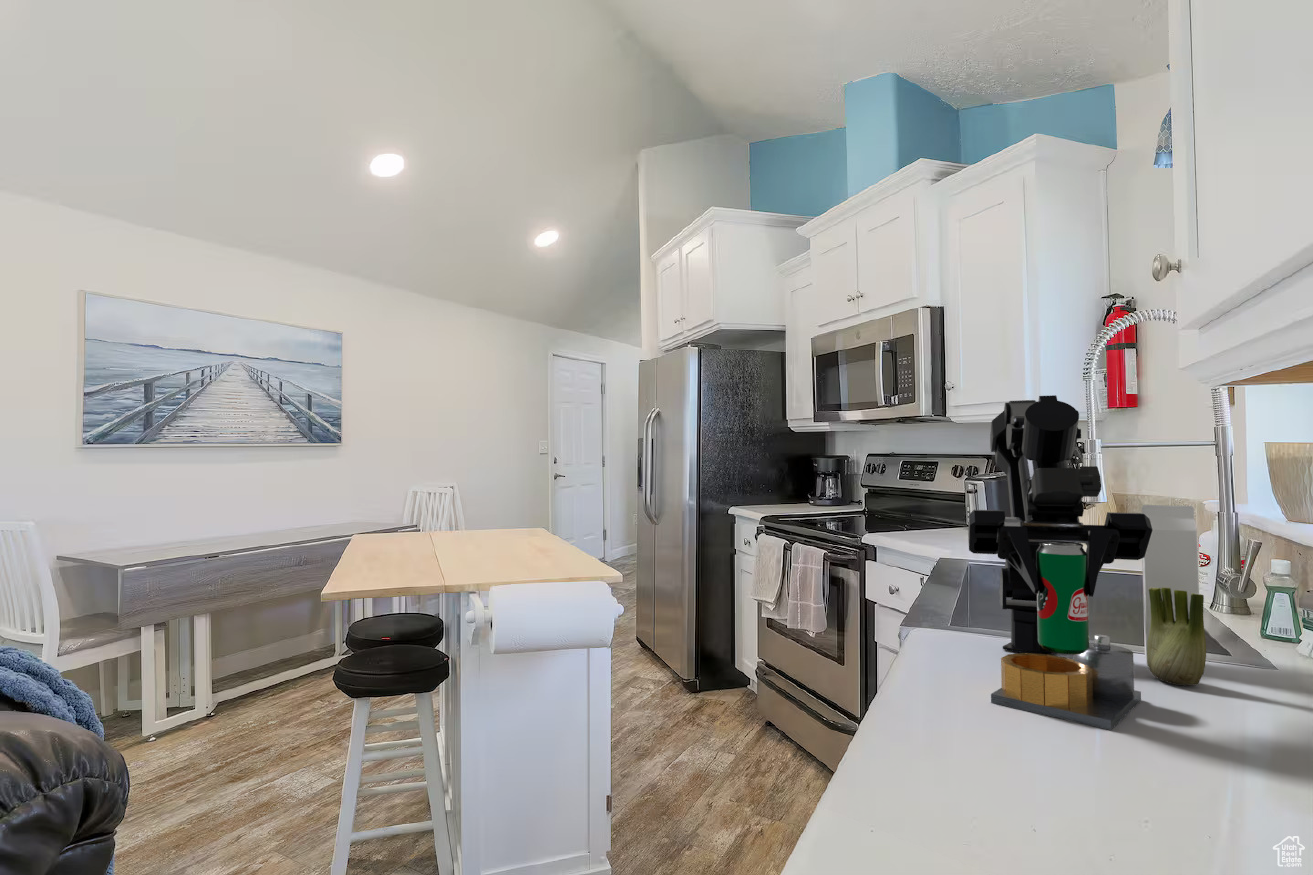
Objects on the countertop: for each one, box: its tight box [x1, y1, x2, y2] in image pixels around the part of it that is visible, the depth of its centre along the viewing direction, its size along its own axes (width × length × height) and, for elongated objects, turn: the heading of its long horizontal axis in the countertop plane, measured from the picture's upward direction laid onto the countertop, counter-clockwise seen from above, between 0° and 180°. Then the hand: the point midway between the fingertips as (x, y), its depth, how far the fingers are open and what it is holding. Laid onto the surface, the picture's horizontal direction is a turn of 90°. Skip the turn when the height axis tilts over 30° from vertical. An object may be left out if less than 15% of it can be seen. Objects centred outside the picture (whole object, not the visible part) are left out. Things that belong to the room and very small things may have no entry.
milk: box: [1141, 504, 1200, 666], centre depth 98 cm, size 6×6×22 cm
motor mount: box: [990, 634, 1142, 731], centre depth 82 cm, size 14×12×8 cm
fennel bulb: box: [1146, 587, 1207, 686], centre depth 90 cm, size 6×5×12 cm
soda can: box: [1036, 541, 1090, 656], centre depth 80 cm, size 5×5×12 cm
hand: (1063, 592), depth 79 cm, fingers closed on soda can, 5 cm apart
